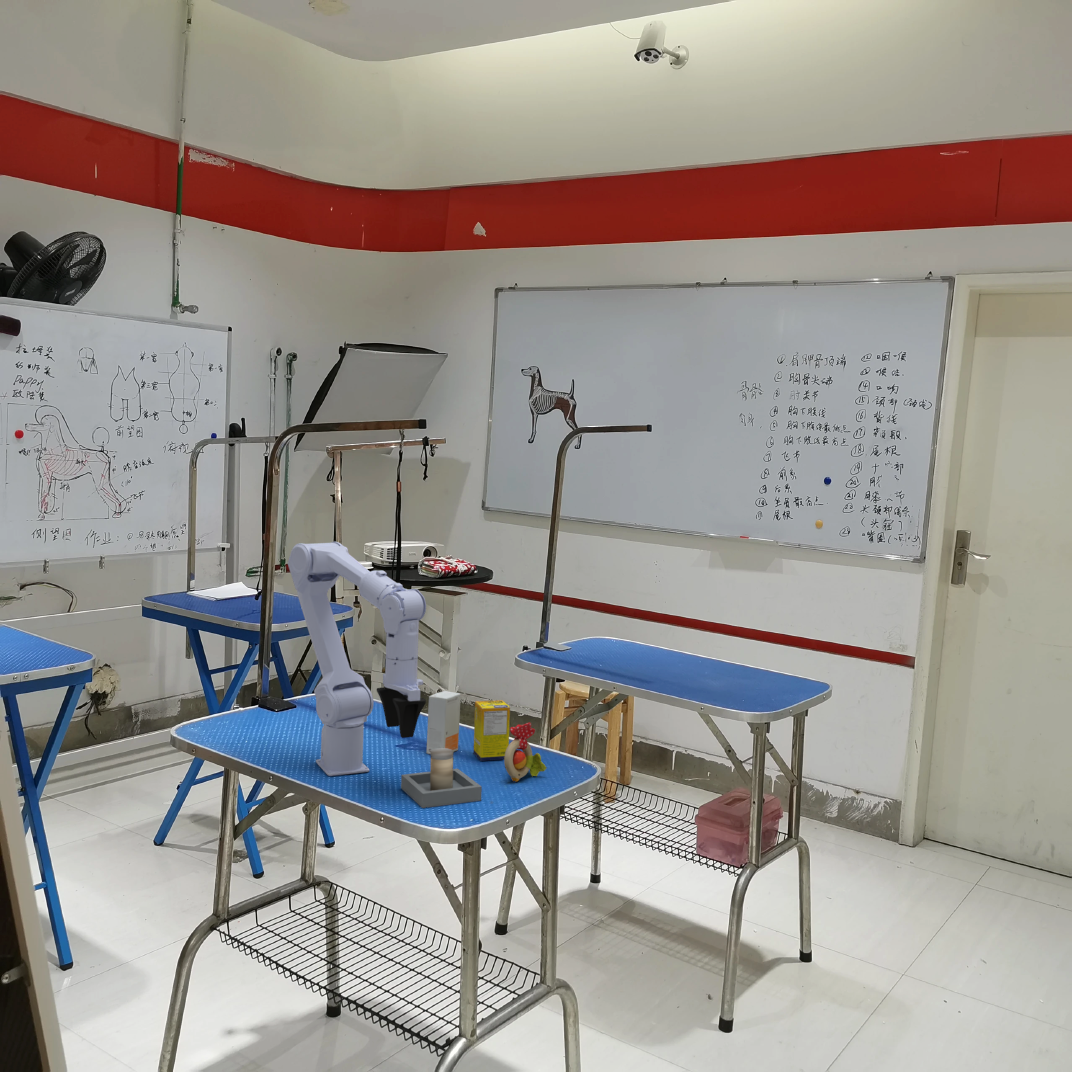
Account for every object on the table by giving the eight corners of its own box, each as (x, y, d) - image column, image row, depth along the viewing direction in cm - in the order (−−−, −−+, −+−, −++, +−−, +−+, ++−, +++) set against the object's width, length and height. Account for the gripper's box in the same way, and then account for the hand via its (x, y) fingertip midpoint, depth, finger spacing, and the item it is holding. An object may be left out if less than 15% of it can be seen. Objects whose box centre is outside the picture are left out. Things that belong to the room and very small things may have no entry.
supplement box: (500, 751, 207) (502, 699, 206) (508, 760, 202) (510, 706, 201) (472, 753, 205) (474, 700, 205) (480, 761, 200) (482, 707, 199)
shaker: (426, 788, 180) (427, 749, 180) (446, 785, 182) (447, 747, 182) (435, 794, 177) (436, 755, 176) (456, 791, 179) (457, 752, 178)
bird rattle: (529, 795, 187) (553, 766, 194) (517, 747, 182) (542, 718, 189) (501, 789, 190) (526, 760, 197) (489, 741, 186) (515, 713, 192)
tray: (401, 788, 182) (401, 774, 181) (457, 781, 187) (457, 768, 186) (422, 808, 172) (422, 793, 172) (481, 800, 177) (481, 786, 177)
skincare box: (443, 757, 201) (445, 698, 201) (425, 753, 203) (427, 695, 202) (459, 750, 207) (461, 693, 206) (441, 746, 209) (443, 690, 208)
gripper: (437, 663, 175) (435, 739, 176) (409, 648, 188) (407, 719, 189) (399, 666, 172) (396, 743, 173) (372, 650, 185) (371, 723, 186)
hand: (399, 731), depth 181 cm, fingers open, 7 cm apart
